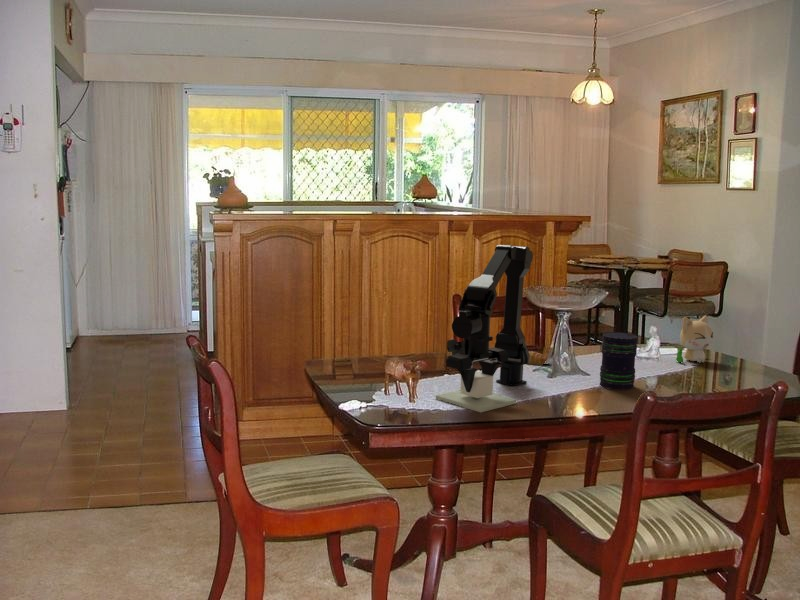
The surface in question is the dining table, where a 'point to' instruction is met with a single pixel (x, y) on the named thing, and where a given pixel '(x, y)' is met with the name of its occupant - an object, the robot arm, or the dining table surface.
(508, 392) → the dining table surface
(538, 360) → the pastry
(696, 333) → the kitten
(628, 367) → the storage jar
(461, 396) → the stub plate
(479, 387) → the block
